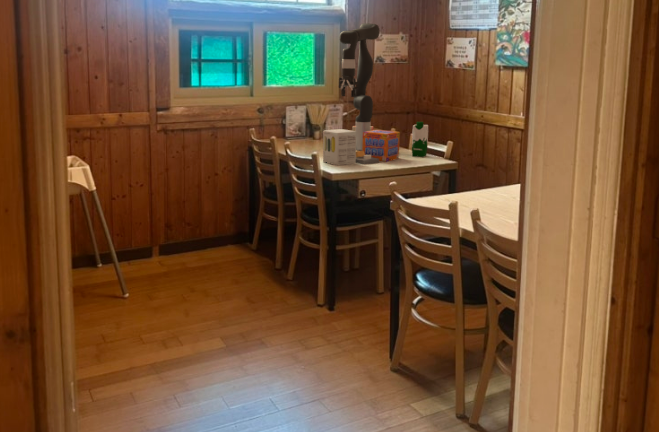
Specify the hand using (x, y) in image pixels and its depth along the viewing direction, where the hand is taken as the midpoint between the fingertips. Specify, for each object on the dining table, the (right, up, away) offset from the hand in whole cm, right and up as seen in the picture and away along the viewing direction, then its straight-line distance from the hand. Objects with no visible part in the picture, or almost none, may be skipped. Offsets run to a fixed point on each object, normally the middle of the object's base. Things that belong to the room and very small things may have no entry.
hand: (348, 96), depth 405 cm
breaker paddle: (+7, -36, -11) cm, 38 cm away
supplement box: (-5, -39, -16) cm, 42 cm away
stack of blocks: (+15, -23, +52) cm, 59 cm away
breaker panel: (+7, -38, -10) cm, 40 cm away
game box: (+18, -36, -1) cm, 40 cm away
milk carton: (+42, -33, +11) cm, 55 cm away
